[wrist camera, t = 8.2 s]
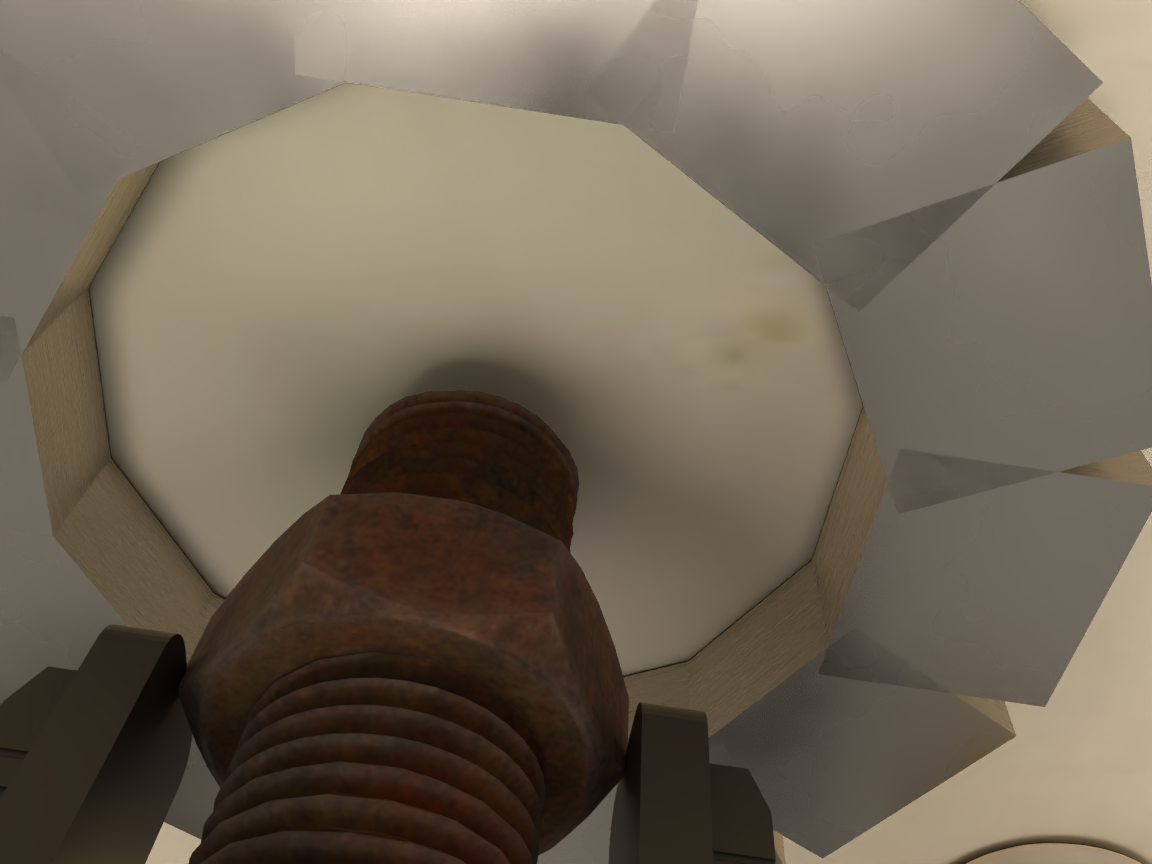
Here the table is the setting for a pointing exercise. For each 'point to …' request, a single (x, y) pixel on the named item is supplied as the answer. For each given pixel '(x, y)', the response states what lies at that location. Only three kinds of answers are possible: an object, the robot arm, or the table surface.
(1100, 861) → the supplement bottle
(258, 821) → the bolt
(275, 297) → the table surface
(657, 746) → the robot arm
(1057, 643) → the grey segmented ring
